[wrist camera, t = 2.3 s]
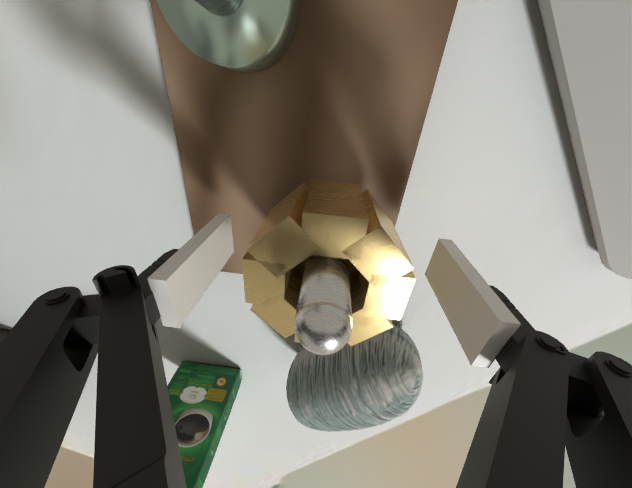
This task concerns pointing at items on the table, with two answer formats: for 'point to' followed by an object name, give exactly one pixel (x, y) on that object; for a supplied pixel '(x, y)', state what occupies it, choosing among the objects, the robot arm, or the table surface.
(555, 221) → the table surface
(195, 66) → the walnut plate
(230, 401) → the coffee box
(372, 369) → the grey marbled egg
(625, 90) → the tablet
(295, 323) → the stand rod
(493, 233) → the table surface
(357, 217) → the tan boxy piece
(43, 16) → the table surface
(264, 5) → the metal peg stand
